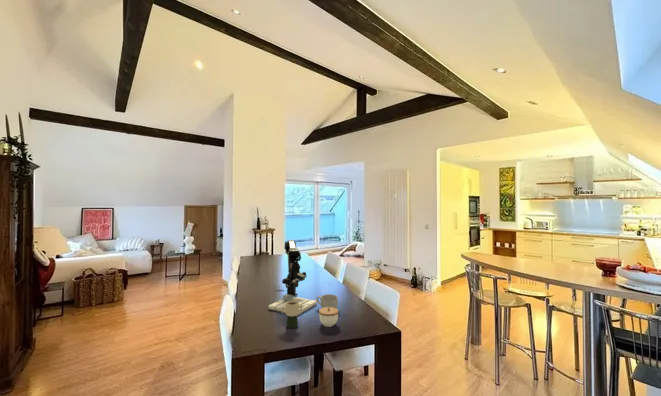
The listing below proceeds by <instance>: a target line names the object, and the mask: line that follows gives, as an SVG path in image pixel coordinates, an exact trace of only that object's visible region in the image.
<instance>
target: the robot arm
mask: <svg viewBox="0 0 661 396" xmlns="http://www.w3.org/2000/svg"><path fill="white" fill-rule="evenodd" d="M283 248H284V250H285V255H287V270H288V274H287V276H286V277H285V278H283V279H282V281H281V283H282V284H283V285H285V289H286V294H289V295H293V296H294V297H297V295H298V293H297V291H296V289H297V288H298V287H299V283H300V282H303V281H305V279H306V278H307V273H306V271H303V272H301V271H300V269H301V265H300V264H299V262H300V261H301V260H302V256H301V252H300V251H299V248H297V242H295V240H293V239H292V240H290V239H289V240H287V242H285V243H284V247H283Z"/></svg>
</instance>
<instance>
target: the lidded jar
mask: <svg viewBox="0 0 661 396" xmlns="http://www.w3.org/2000/svg"><path fill="white" fill-rule="evenodd" d="M318 317H319V321H320V323H321V325H322V326H323V327H326V328H331V327H334V326H335V325H336V323H337V321H338V318H339V309H338V308H332V307H325V308H322V307H321V308H320V309H319V310H318Z"/></svg>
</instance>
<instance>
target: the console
mask: <svg viewBox="0 0 661 396" xmlns="http://www.w3.org/2000/svg"><path fill="white" fill-rule="evenodd" d="M291 301H298V302H299V305H302V311H299V313H298V315H297V317H299V316H300V315H301V314H304V313H305V312H307V311H308V310H310V309H312V308H314V307H315V306H317V305H318V302H317V301H316V299H315V300H313V299H308V298H303V297H298V296H293V300H291ZM286 302H287V301H284V300H283V298H282V299H280V300H277V301H275V302H273V303H270V304H269V305H268V310H269V311H272V312H273V311H274V312H277V313H282V307H285V306H286ZM299 310H300V307H299ZM284 311H286V308H284Z"/></svg>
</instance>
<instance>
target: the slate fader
mask: <svg viewBox="0 0 661 396" xmlns="http://www.w3.org/2000/svg"><path fill="white" fill-rule="evenodd" d="M282 299H283V300H284V301H291V300H293V295H289V294H287V293H286V294H284V295H283V296H282Z"/></svg>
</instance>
